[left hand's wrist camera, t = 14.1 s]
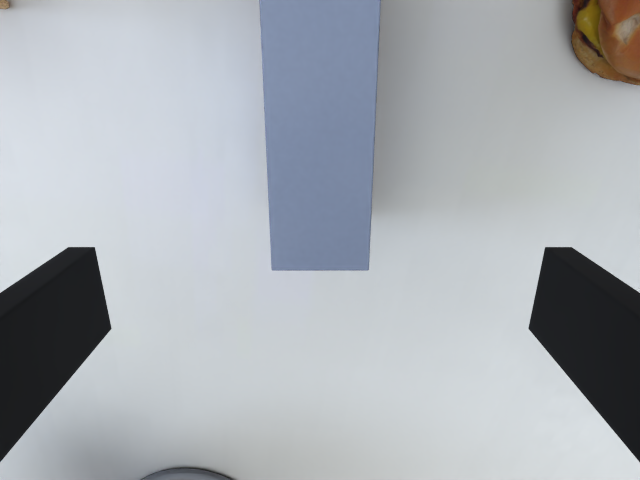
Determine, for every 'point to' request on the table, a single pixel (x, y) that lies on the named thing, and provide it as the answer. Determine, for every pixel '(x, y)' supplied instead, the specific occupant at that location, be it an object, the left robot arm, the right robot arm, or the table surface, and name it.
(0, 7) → the toy
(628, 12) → the burger
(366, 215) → the blue-grey rectangular block
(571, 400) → the table surface
